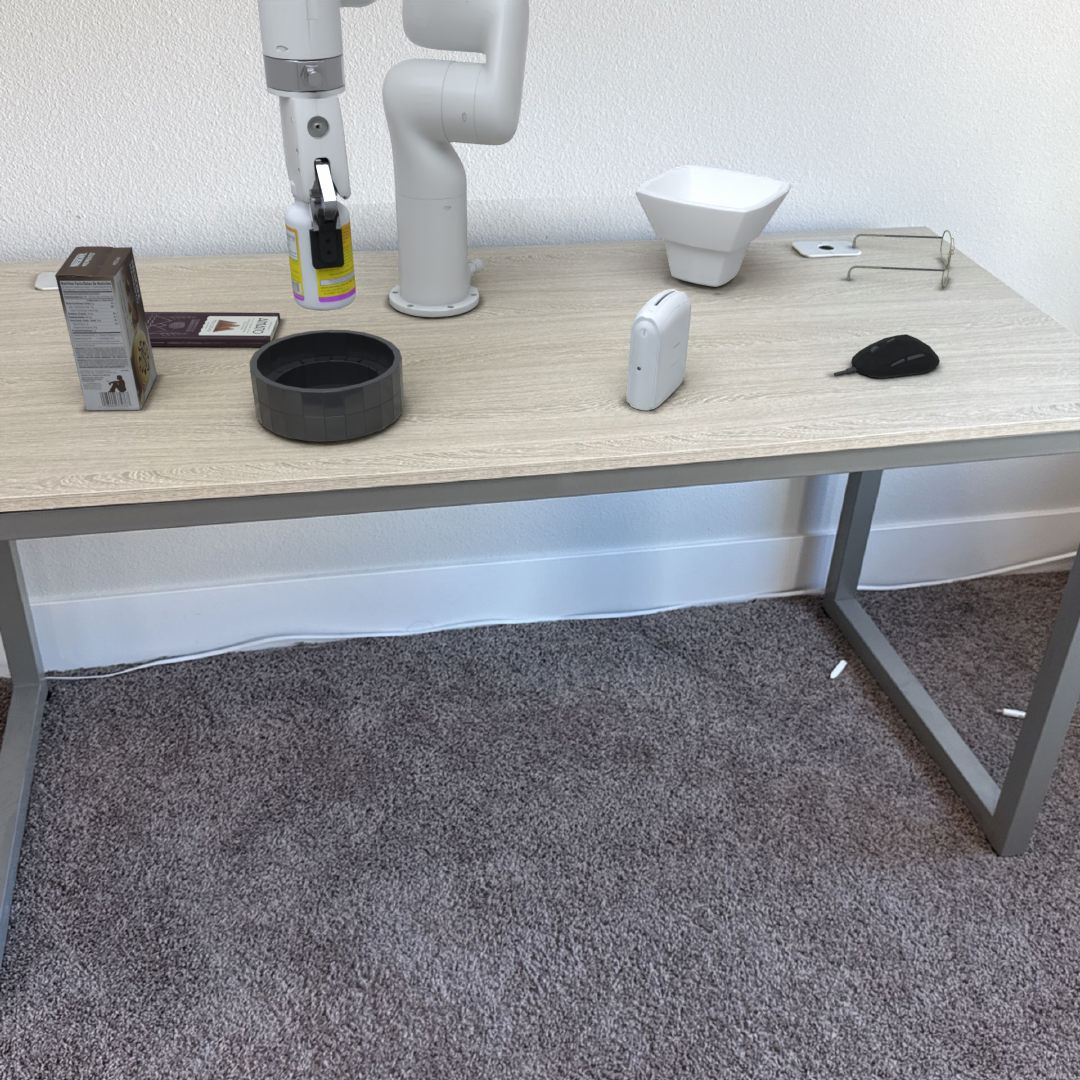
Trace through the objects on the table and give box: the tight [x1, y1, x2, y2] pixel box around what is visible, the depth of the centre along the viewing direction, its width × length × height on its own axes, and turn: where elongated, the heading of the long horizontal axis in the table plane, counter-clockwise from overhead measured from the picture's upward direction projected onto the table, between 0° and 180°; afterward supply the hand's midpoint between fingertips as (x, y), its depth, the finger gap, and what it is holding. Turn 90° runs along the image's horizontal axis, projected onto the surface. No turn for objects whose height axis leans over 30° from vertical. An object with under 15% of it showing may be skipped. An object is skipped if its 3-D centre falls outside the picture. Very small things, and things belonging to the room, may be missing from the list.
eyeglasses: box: [846, 229, 955, 288], centre depth 168 cm, size 16×15×5 cm
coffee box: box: [54, 245, 158, 411], centre depth 123 cm, size 9×6×16 cm
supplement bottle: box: [284, 175, 357, 312], centre depth 114 cm, size 7×7×13 cm
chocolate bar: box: [145, 311, 281, 348], centre depth 142 cm, size 9×1×18 cm
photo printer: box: [625, 288, 692, 412], centre depth 127 cm, size 10×4×12 cm, turn 151°
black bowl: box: [249, 329, 405, 443], centre depth 123 cm, size 17×17×6 cm
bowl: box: [635, 163, 792, 288], centre depth 159 cm, size 19×19×14 cm
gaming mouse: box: [833, 333, 941, 379], centre depth 137 cm, size 6×15×4 cm, turn 110°
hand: (321, 254), depth 115 cm, fingers closed on supplement bottle, 6 cm apart
